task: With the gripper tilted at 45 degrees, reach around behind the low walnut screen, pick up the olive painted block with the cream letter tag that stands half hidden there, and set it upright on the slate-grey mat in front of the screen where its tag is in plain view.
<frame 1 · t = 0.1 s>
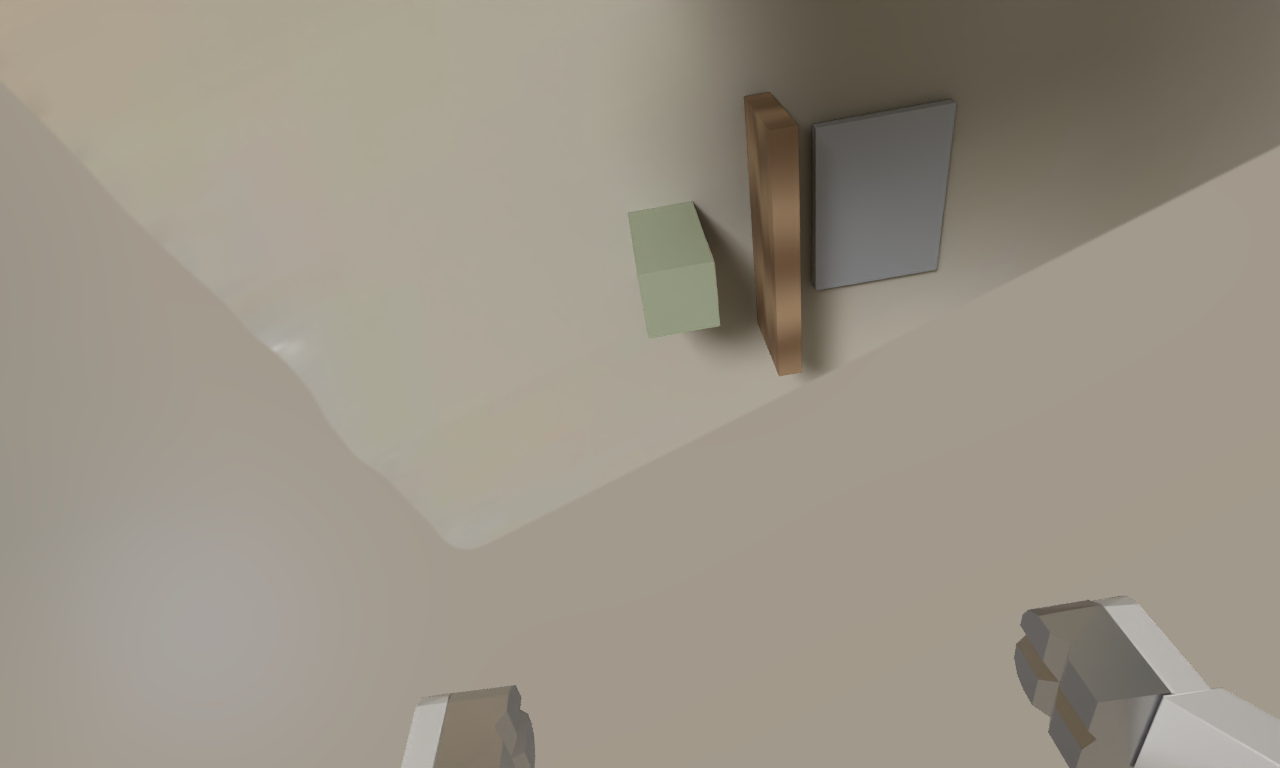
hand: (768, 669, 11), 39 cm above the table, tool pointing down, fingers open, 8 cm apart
olive letter block: (664, 236, 49), on the table
display mat: (876, 199, 48), on the table
walnut screen: (762, 219, 48), on the table
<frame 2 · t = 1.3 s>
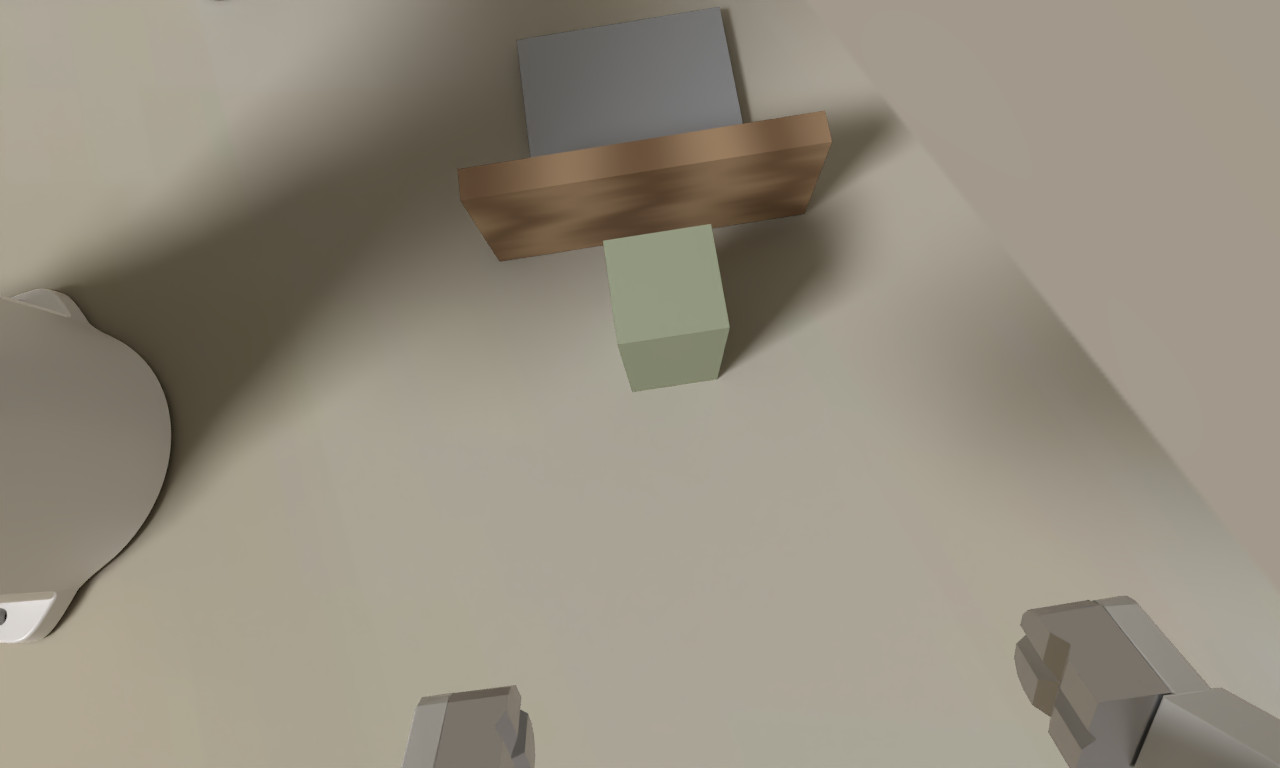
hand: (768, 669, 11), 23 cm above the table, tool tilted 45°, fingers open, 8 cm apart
olive letter block: (668, 344, 37), on the table
display mat: (629, 99, 40), on the table
walnut screen: (649, 224, 38), on the table
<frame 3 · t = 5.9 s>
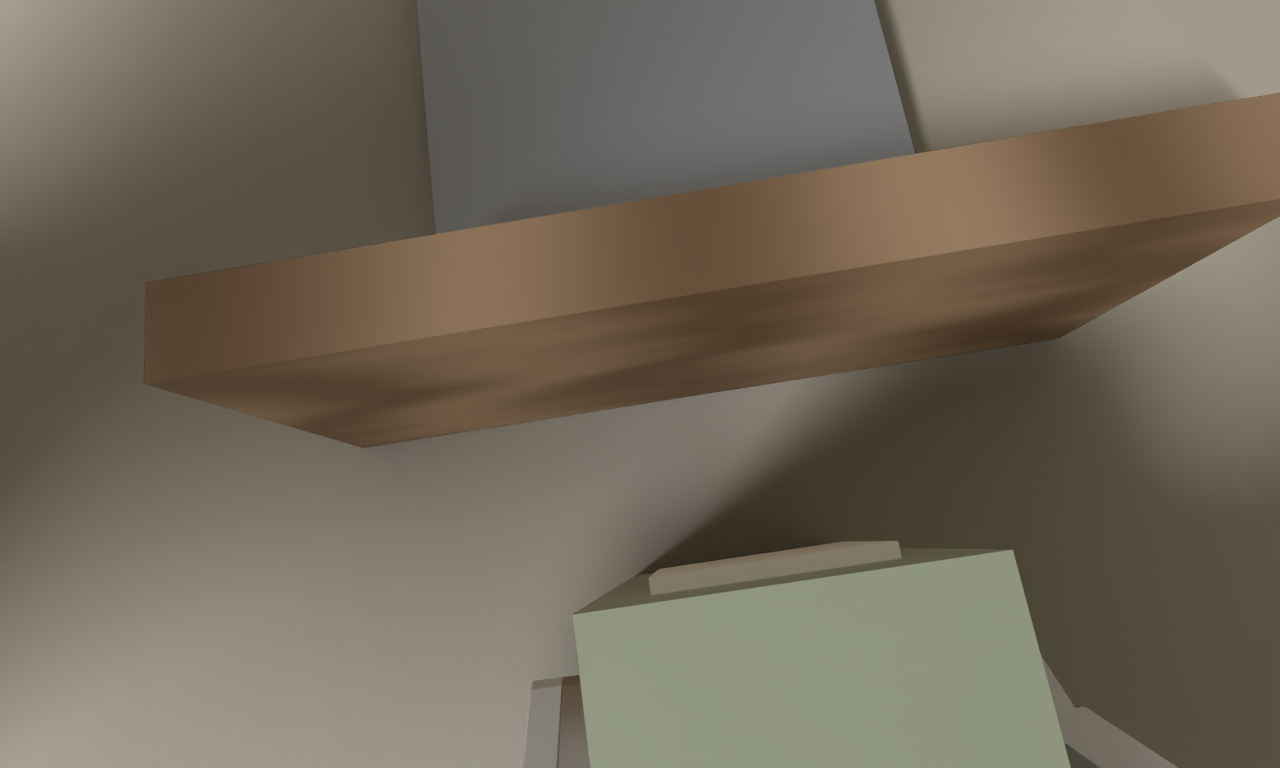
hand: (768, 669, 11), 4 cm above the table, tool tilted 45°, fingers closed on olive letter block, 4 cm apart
olive letter block: (751, 664, 15), on the table, touching gripper
display mat: (651, 81, 19), on the table
walnut screen: (699, 362, 17), on the table
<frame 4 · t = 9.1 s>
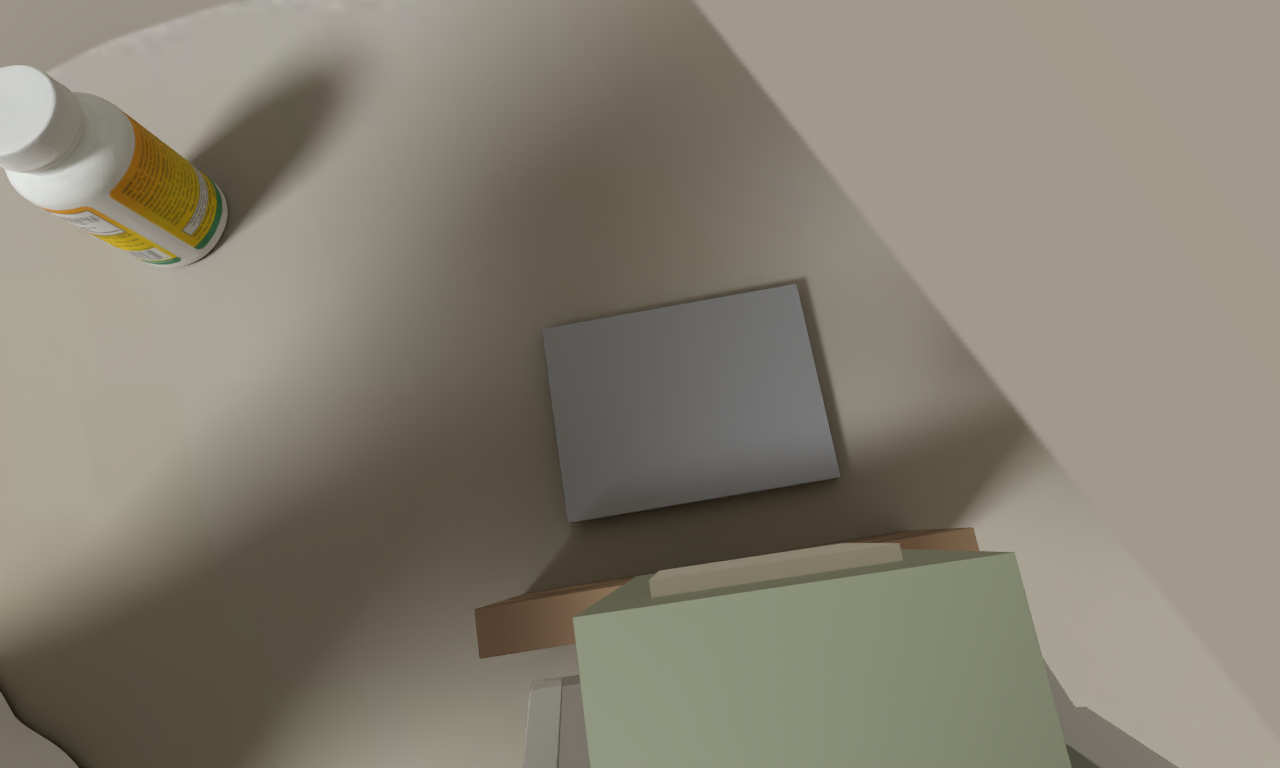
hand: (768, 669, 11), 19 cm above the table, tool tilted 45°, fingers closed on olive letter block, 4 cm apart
olive letter block: (752, 665, 15), point 15 cm above the table, touching gripper
display mat: (685, 403, 32), on the table
supplement bottle: (185, 224, 36), on the table
walnut screen: (717, 581, 30), on the table
when the fingers open (7 cm above the table, at t = 12.6 s): olive letter block drops 1 cm, resting on display mat.
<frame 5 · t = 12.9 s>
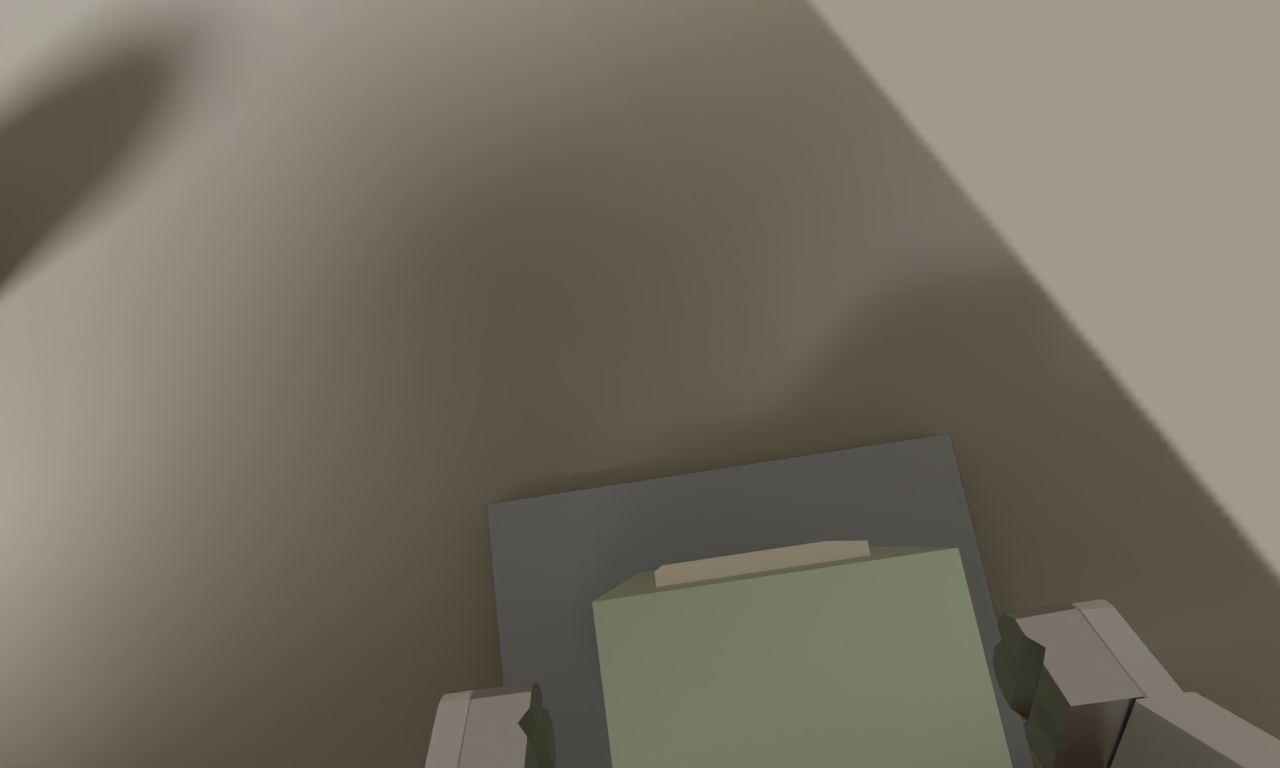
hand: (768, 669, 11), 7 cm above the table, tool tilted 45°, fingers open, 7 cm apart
olive letter block: (745, 653, 17), point 1 cm above the table, touching display mat
display mat: (744, 648, 17), on the table
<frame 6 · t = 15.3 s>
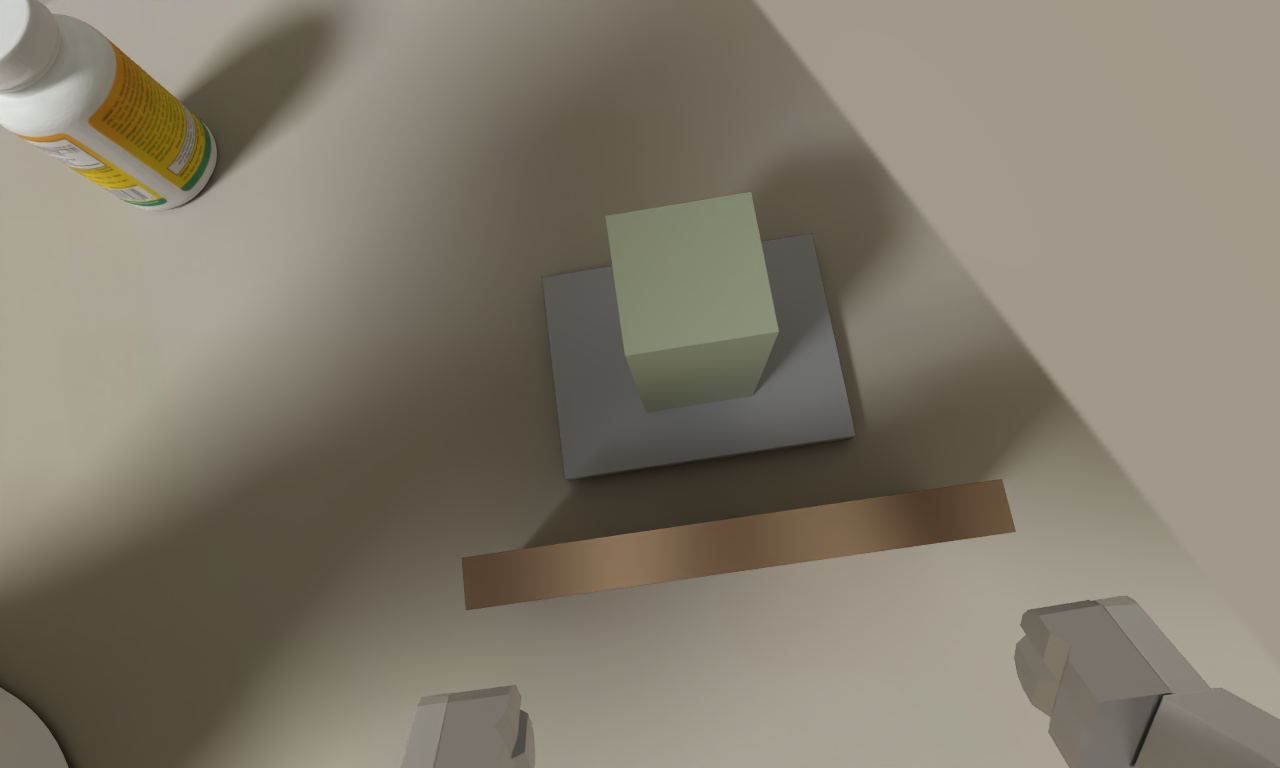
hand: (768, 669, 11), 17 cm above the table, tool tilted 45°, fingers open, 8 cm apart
olive letter block: (690, 352, 29), point 1 cm above the table, touching display mat
display mat: (691, 357, 30), on the table
supplement bottle: (173, 166, 34), on the table
walnut screen: (722, 544, 28), on the table
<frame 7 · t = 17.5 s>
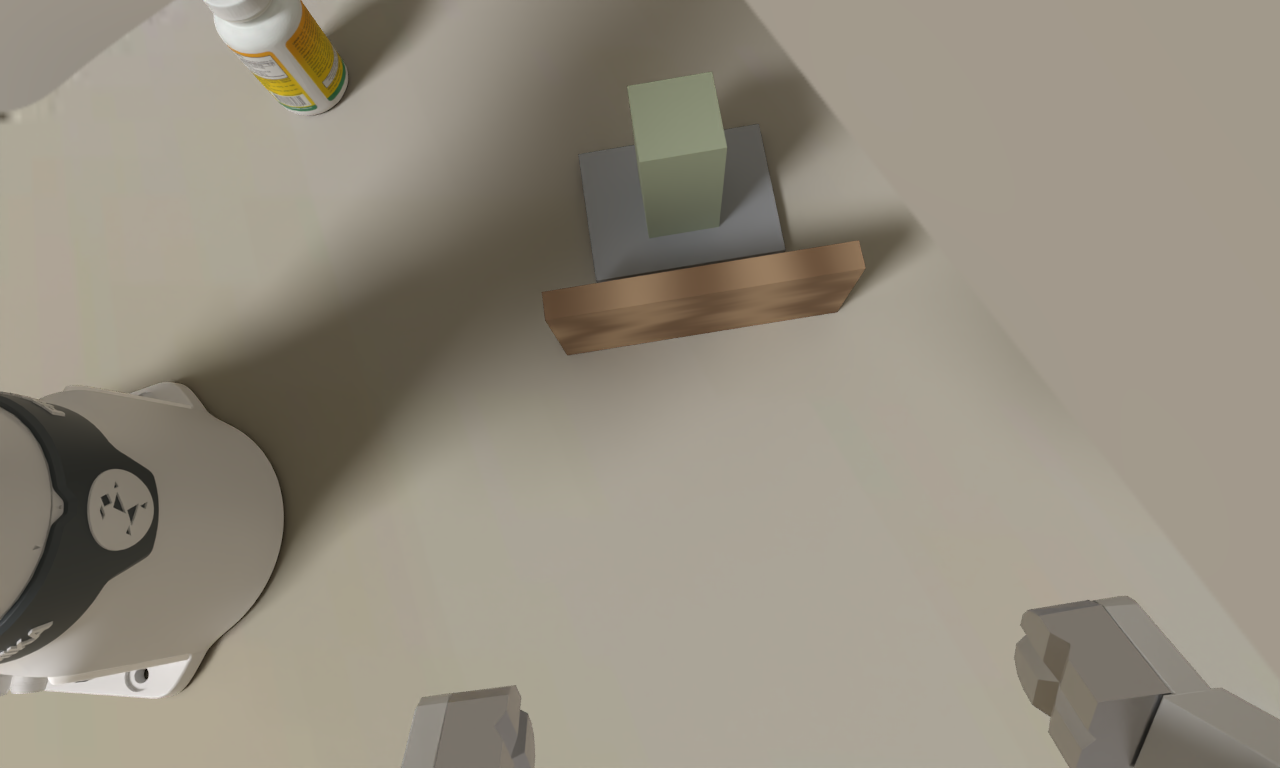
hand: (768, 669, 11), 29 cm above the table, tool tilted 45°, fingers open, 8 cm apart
olive letter block: (678, 200, 44), point 1 cm above the table, touching display mat
display mat: (679, 206, 45), on the table
supplement bottle: (316, 86, 49), on the table
walnut screen: (699, 321, 43), on the table
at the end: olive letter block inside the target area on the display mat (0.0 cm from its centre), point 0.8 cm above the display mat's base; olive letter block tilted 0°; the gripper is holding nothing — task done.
